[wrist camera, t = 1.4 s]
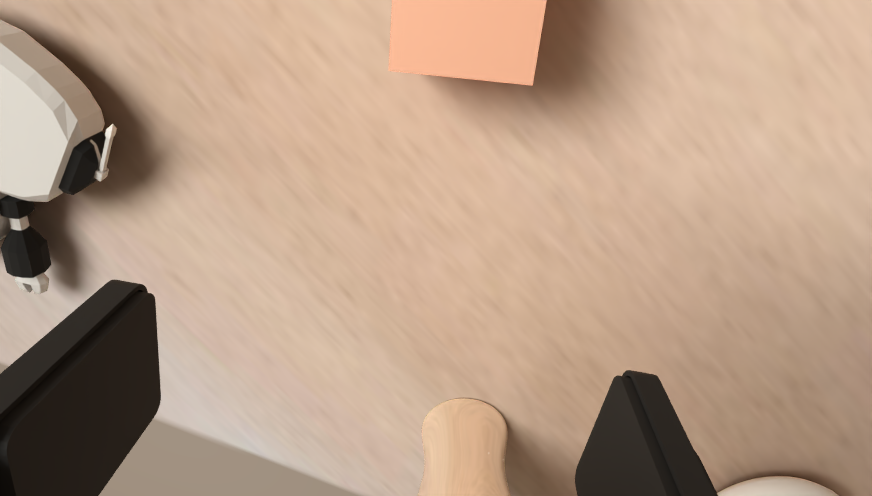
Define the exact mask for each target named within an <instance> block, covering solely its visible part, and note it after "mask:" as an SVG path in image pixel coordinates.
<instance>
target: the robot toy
mask: <svg viewBox="0 0 872 496" xmlns="http://www.w3.org/2000/svg"><path fill="white" fill-rule="evenodd" d="M104 125H105V123H104V119H103V115H102V111H101V109H100V107H99V105H98V104H97V102H96V100H95V99H94V97H93V96H92V94H91V92H90V91H89V89H88V88H87V87H86V86H85V85H84V84H83V83H82V81H81V80H80V79H79V78H78V77H77V76H76V75H75V74H74V73H73V72H72V71H71V70H70V69H69V68H67V67H66V66H65V65H64V64H63V63H62V62H61V61H60V60H59V59H57V58H56V57H55V56H54V55H53V54H51V53H50V52H49V51H48V50H46V49H45V48H44V47H43V46H42V45H40V44H39V43H38V42H37V41H35V40H34V39H33V38H32V37H31V36H29V35H28V34H27V33H26V32H24V31H23V30H21V29H19V28H17V27H15V26H12V25H10V24H8V23H6V22H4V21H2V20H0V240H1V239H3V238H5V237H6V238H5V240H4V242H3V245H2V247H1V251H2V255H3V259H4V263H5V267H6V271H7V273H9V274H11V275H12V276H16V279H15V281H16V283H17V285H18V287H19V289H21V290H23V291H26V292H31V291H32V290H33V291H34V293H35V294H41V293H43V292H45V291H47V289H48V283H49V278H48V277H47V276H46V275H45V274H44V272H45V271H46V270H47V269H48V268H49V267H50V265H51V260H50V255H49V250H48V245H47V241H46V240H45V239H44V238H43V237H42V236H41V235H40V234H39V233H38V232H37V231H36V230H34V229H33V228H32V227H31V226H29V221H28V217H27V216H28V215H29V214H30V213H31V212H32V211H33V210H34V209H35V208H34V203H33V201H37V202H48V201H50V200H52V199H53V198H55V197H57V196H59V195H60V194H62V193H67V194H71V195H74V194H75V193H77V192H79V191H81V190H82V189H84V188H86V187H87V186H89V185H90V184H92V183H94V182H95V181H96V180H98V181H100V182H101V181H102V180H103V179H105V178H106V177H107V176H108V172H109V169H108V168H107V163H108V158H109V154H110V150H111V145H112V141H113V137H114V136H115V134H116V130H117V128H116V127H115V126H114V124H112V125H111V126H109V127H108V128H107V129H106V133H105V134H104V133H103V132H102V131H103V128H104Z"/></svg>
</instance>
